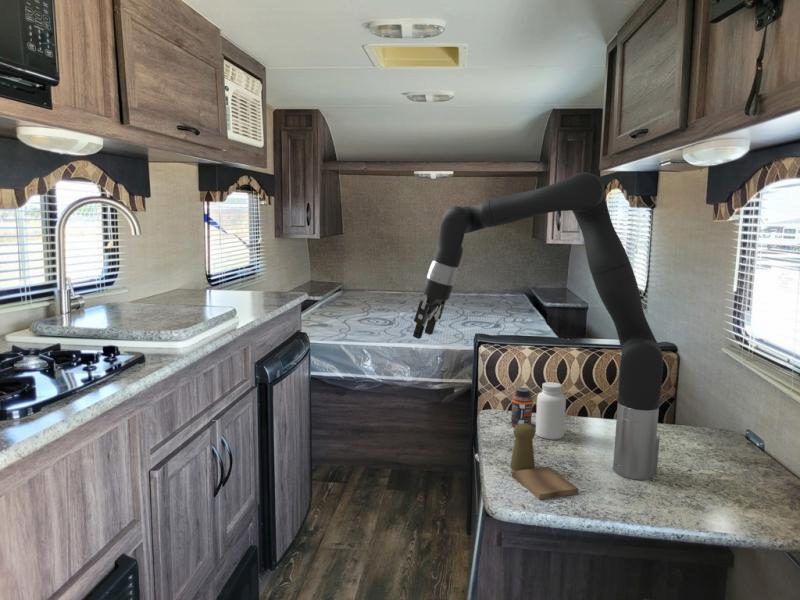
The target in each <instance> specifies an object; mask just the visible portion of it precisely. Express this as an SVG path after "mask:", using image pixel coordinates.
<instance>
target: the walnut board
mask: <svg viewBox="0 0 800 600" xmlns="http://www.w3.org/2000/svg"><path fill="white" fill-rule="evenodd" d="M511 477H512V478H513V479H514V480H516V481H517V482H518V484H519V483H520V484H521V486H522V487H524V488H525V489H526V490H528V491H529V493H531V494H532V495H534V496H535V498H537V499H538V500H545V499H550V498H556V497H558V498H559V497H563V496H564V497H565V496H569V495H575V494H578V493H579V488H578V487H577V486H576V485H574V484H573V483H571V482H570V481H569V480H567V479H566V478H565V477H563V476H562V475H560V474H559V473H558V472H557V471H555V470H553V468H551V467H549V466H541V467H535V468H533V469H526V470H519V471H514V470H512V471H511Z"/></svg>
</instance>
